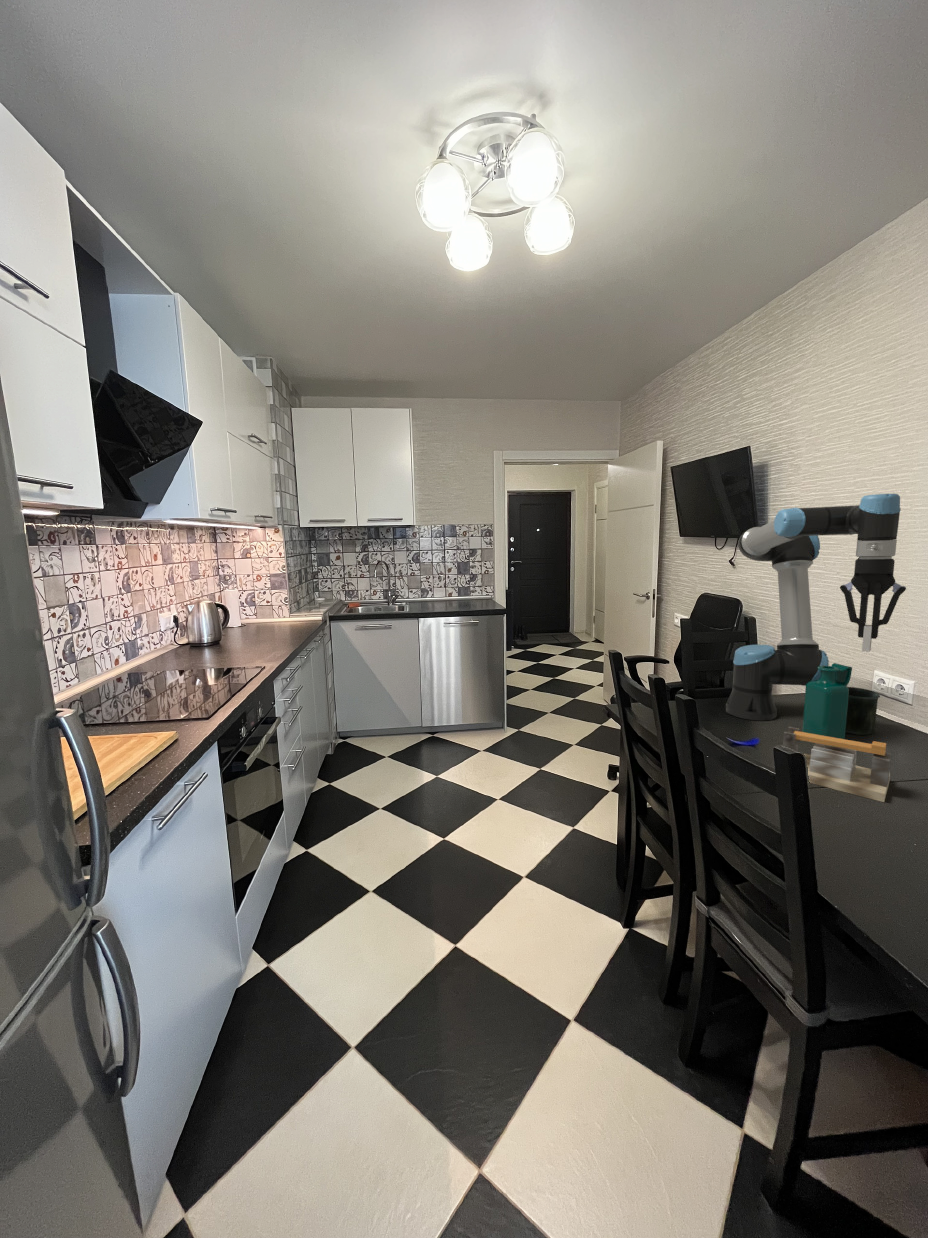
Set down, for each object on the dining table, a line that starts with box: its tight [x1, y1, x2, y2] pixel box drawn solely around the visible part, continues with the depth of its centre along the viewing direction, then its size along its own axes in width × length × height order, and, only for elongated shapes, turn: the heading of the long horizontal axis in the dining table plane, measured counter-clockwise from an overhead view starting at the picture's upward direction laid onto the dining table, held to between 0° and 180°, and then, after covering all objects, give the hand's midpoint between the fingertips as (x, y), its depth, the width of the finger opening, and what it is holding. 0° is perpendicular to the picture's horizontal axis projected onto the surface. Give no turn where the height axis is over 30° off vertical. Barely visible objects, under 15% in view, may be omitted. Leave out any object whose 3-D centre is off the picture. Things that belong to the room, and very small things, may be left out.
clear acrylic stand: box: [782, 726, 892, 803], centre depth 121 cm, size 21×13×10 cm, turn 45°
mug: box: [845, 686, 881, 736], centre depth 151 cm, size 11×15×12 cm
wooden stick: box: [794, 731, 887, 756], centre depth 120 cm, size 18×3×2 cm, turn 45°
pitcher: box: [801, 662, 853, 740], centre depth 143 cm, size 10×8×22 cm
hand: (866, 650), depth 124 cm, fingers closed
